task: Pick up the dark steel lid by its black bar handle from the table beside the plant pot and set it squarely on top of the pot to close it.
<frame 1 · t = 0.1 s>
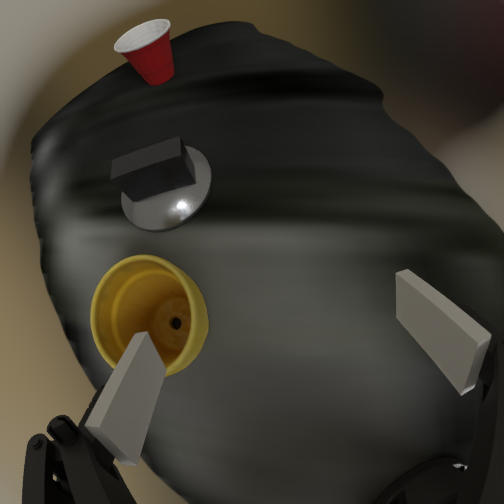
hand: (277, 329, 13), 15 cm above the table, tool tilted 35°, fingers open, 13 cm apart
steel lid: (166, 188, 35), on the table
plastic cup: (161, 78, 44), on the table
plant pot: (180, 324, 29), on the table
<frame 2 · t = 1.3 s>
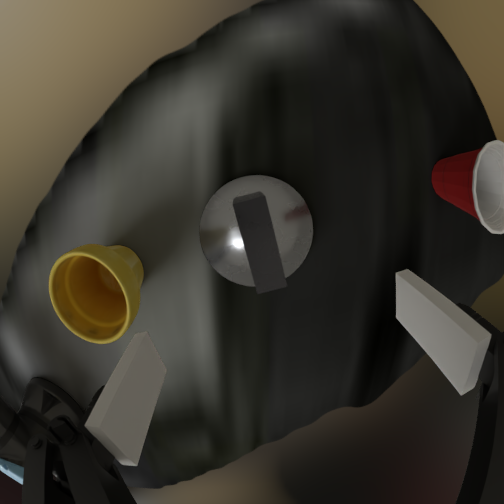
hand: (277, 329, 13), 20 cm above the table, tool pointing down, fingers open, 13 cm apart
steel lid: (256, 230, 32), on the table
plastic cup: (442, 178, 31), on the table
plant pot: (121, 268, 33), on the table
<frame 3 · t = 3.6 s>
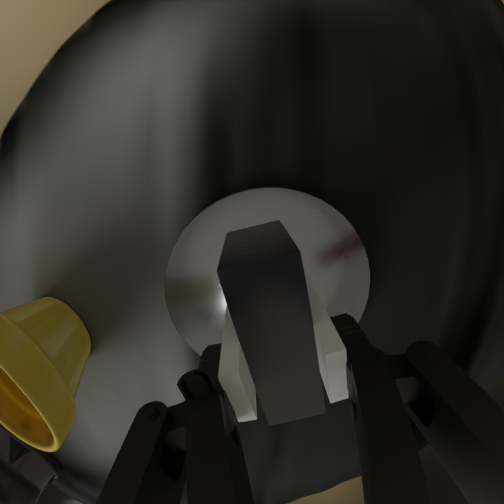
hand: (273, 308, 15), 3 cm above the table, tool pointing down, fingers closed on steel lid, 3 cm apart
steel lid: (269, 289, 18), on the table, touching gripper
plant pot: (61, 328, 19), on the table
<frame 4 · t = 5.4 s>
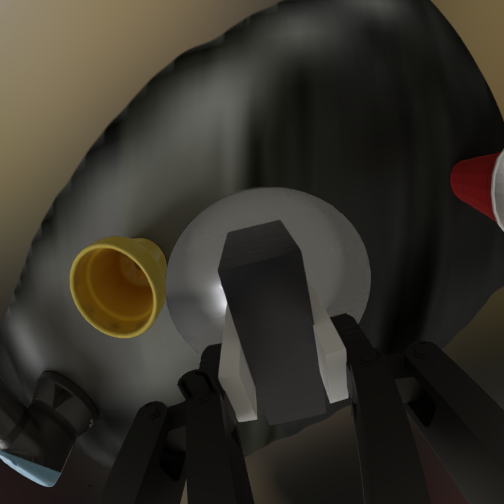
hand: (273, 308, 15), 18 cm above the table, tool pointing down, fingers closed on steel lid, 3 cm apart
steel lid: (269, 289, 18), point 15 cm above the table, touching gripper
plastic cup: (460, 180, 30), on the table
plant pot: (142, 261, 33), on the table
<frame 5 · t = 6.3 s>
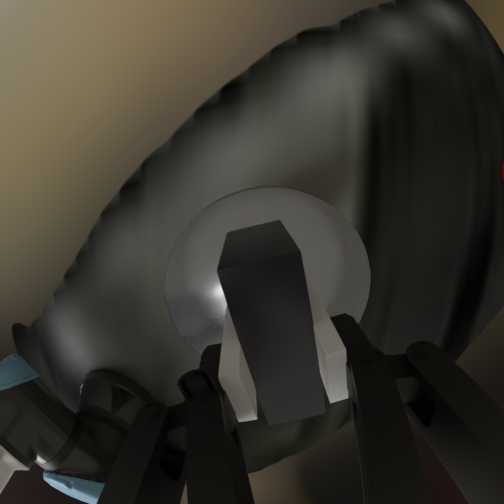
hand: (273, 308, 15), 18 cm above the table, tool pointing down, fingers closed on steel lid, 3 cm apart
steel lid: (269, 289, 18), point 16 cm above the table, touching gripper
when the fingers open (15 cm above the table, at t = 7.1 s): steel lid drops 2 cm, resting on plant pot.
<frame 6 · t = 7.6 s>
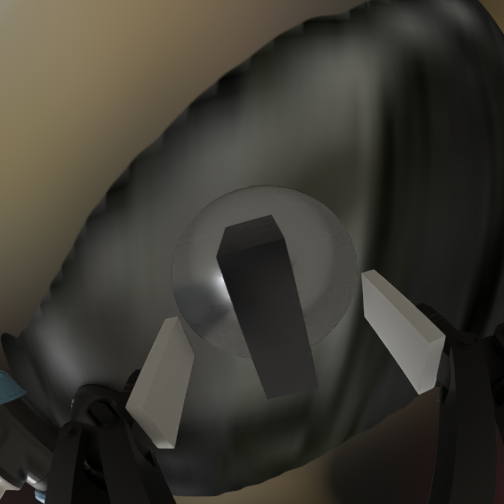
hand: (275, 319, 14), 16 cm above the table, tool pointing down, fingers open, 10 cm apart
steel lid: (265, 277, 20), point 10 cm above the table, touching plant pot
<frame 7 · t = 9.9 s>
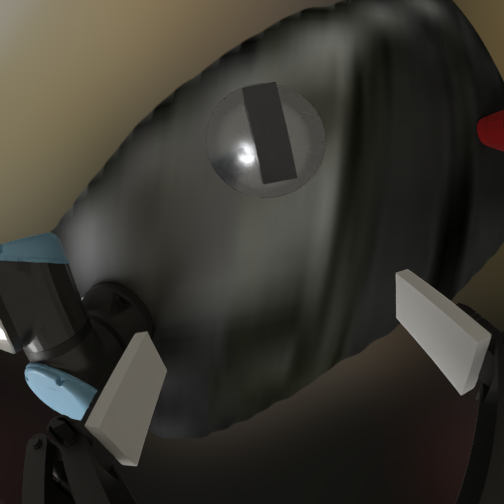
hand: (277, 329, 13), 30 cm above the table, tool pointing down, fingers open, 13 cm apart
steel lid: (265, 139, 29), point 10 cm above the table, touching plant pot
plastic cup: (483, 132, 36), on the table
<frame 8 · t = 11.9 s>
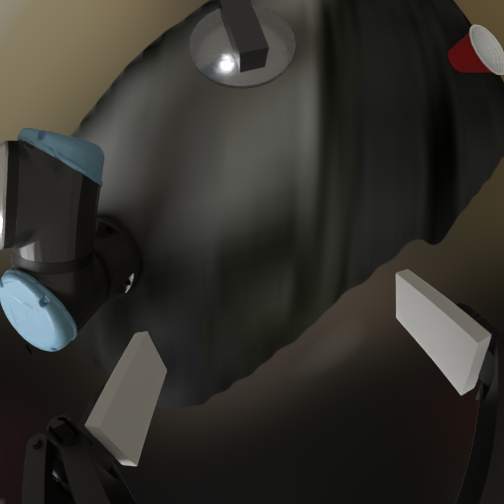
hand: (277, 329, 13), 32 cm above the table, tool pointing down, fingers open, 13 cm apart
steel lid: (242, 44, 27), point 10 cm above the table, touching plant pot
plastic cup: (455, 61, 34), on the table
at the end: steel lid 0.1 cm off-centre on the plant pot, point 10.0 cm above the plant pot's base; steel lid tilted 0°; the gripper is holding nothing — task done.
